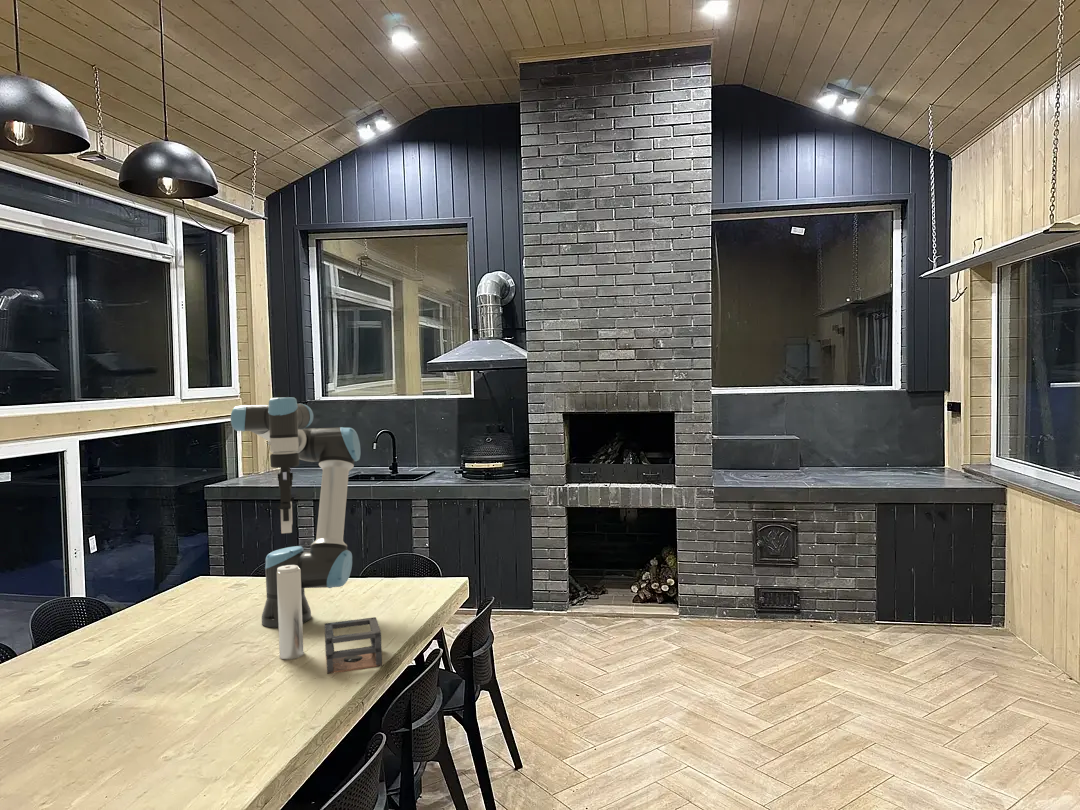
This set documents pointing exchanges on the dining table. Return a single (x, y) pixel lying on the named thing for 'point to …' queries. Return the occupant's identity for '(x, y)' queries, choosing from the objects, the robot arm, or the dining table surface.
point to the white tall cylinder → (290, 612)
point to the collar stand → (353, 657)
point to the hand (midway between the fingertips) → (287, 528)
